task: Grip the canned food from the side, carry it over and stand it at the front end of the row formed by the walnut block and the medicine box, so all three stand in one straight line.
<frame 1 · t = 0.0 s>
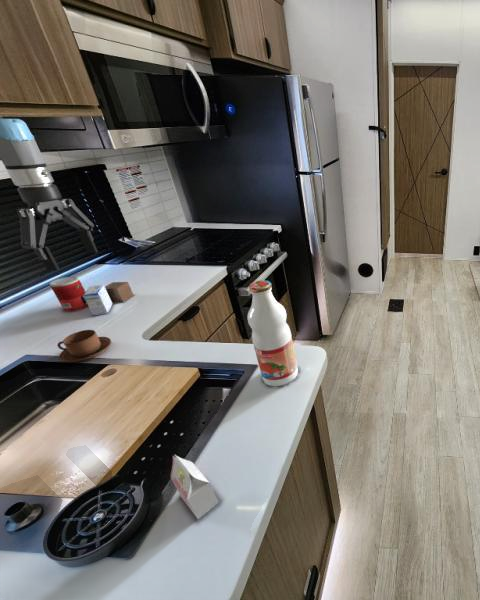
hand: (74, 260, 97), 26 cm above the worktop, tool pointing down, fingers open, 13 cm apart
fruit juice: (281, 375, 91), on the worktop
canned food: (78, 307, 127), on the worktop
medicine box: (103, 310, 124), on the worktop
white carton box: (200, 500, 61), on the worktop
cup and saucer: (89, 353, 101), on the worktop
walnut block: (120, 298, 132), on the worktop
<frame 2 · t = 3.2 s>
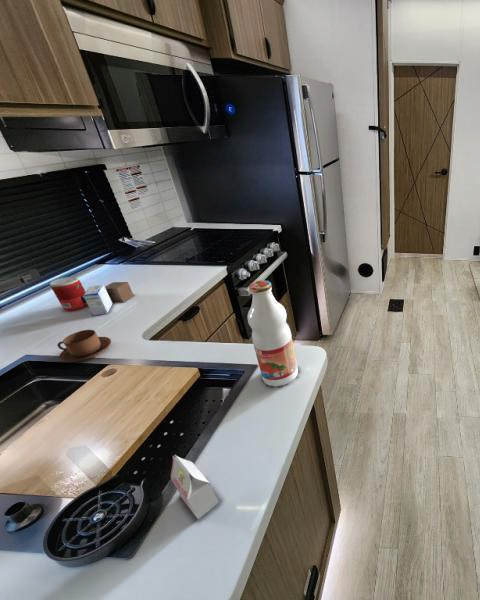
hand: (14, 274, 106), 19 cm above the worktop, tool horizontal, fingers open, 13 cm apart
nothing on the worktop moved.
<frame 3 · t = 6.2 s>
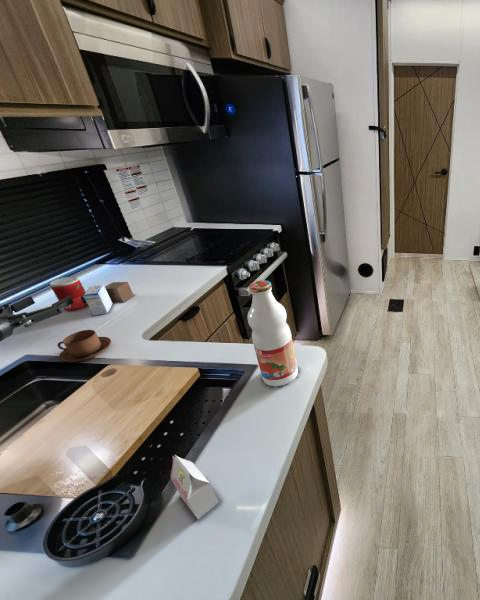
hand: (51, 299, 117), 7 cm above the worktop, tool horizontal, fingers open, 13 cm apart
nothing on the worktop moved.
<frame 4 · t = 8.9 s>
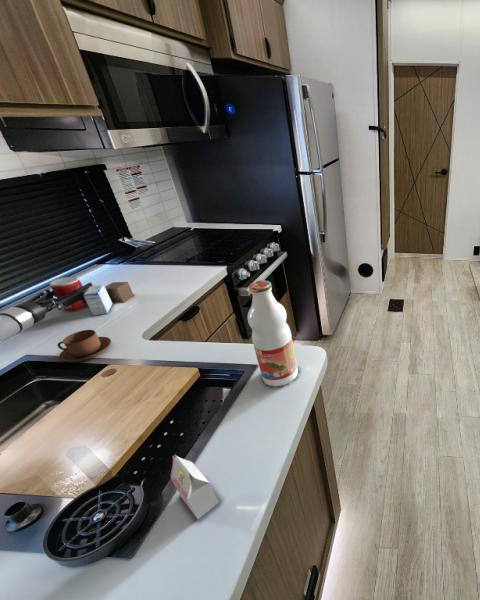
hand: (80, 286, 128), 6 cm above the worktop, tool horizontal, fingers closed on canned food, 8 cm apart
canned food: (78, 307, 127), on the worktop, touching gripper
everything else where it was.
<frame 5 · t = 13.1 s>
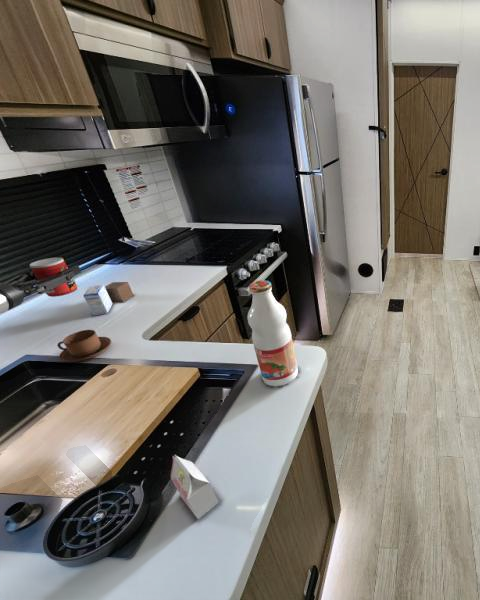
hand: (65, 268, 113), 18 cm above the worktop, tool horizontal, fingers closed on canned food, 8 cm apart
canned food: (63, 292, 112), point 11 cm above the worktop, touching gripper
everything else where it was.
when the fingers open (6 cm above the worktop, at t = 17.1 s): canned food stays where it is, on the worktop.
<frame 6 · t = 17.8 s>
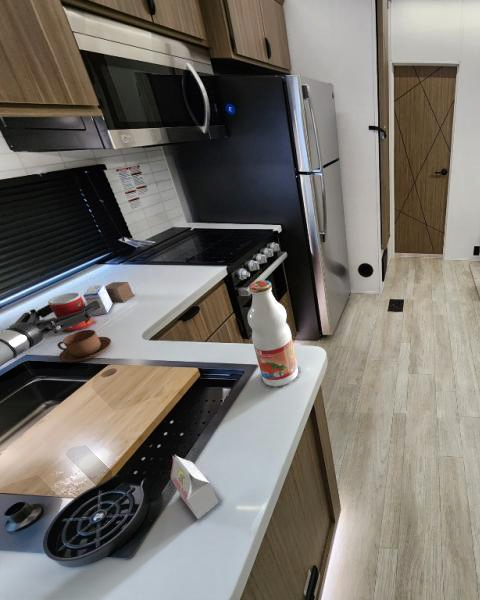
hand: (78, 304, 114), 7 cm above the worktop, tool horizontal, fingers open, 13 cm apart
canned food: (79, 326, 115), on the worktop
everything else where it was.
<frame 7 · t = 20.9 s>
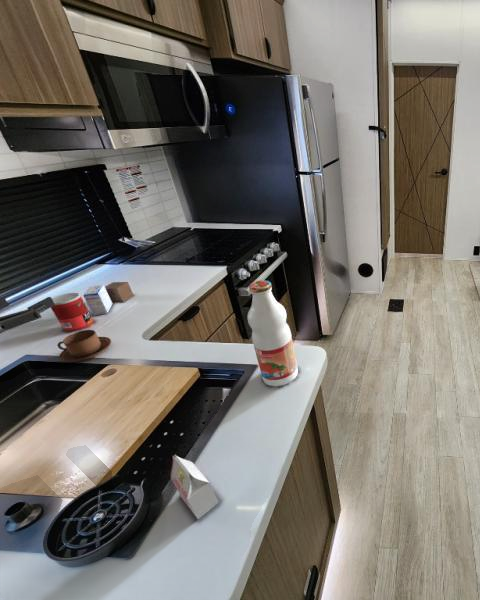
hand: (28, 301, 99), 15 cm above the worktop, tool horizontal, fingers open, 13 cm apart
nothing on the worktop moved.
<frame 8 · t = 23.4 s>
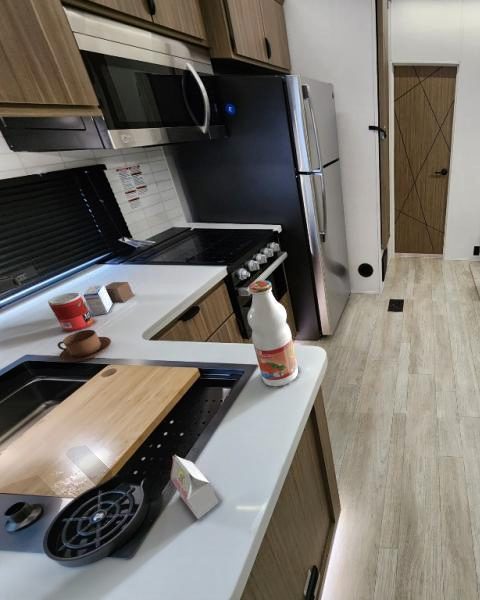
hand: (10, 270, 94), 25 cm above the worktop, tool horizontal, fingers open, 13 cm apart
nothing on the worktop moved.
at the end: canned food inside the target area (0.0 cm from its centre), on the worktop; canned food tilted 0°; canned food 11.0 cm from the medicine box (horizontally) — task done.
